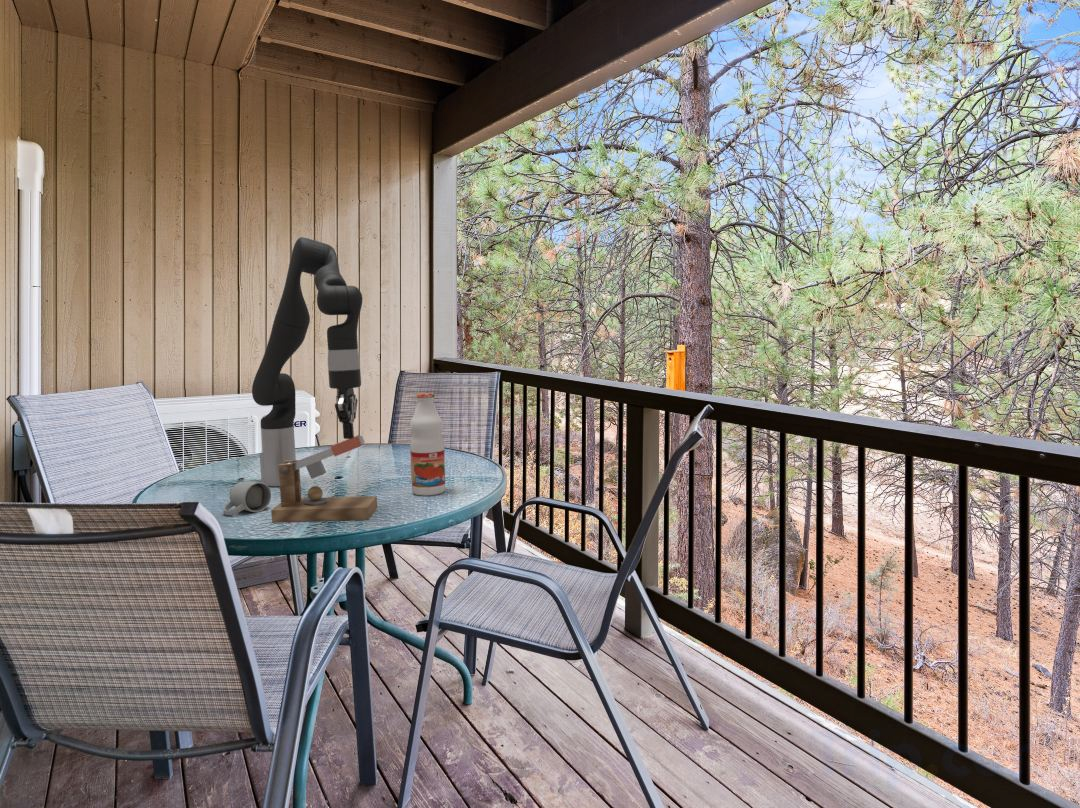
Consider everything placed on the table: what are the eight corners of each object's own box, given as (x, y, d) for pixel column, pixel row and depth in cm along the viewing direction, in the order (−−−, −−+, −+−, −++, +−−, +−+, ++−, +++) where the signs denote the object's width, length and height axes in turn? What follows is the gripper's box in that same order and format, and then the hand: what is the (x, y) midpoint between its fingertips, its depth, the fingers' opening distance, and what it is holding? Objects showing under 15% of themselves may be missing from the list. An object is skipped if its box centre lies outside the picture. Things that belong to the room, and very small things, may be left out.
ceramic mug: (253, 504, 177) (251, 476, 176) (272, 508, 173) (270, 479, 172) (216, 514, 169) (213, 485, 168) (235, 519, 164) (232, 488, 163)
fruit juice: (440, 486, 194) (437, 391, 190) (449, 493, 185) (446, 393, 182) (408, 490, 190) (404, 392, 187) (416, 497, 181) (412, 395, 178)
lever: (289, 488, 164) (279, 466, 163) (293, 485, 167) (283, 464, 166) (368, 456, 163) (358, 435, 163) (370, 454, 166) (361, 433, 166)
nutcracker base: (272, 522, 160) (268, 467, 159) (287, 509, 171) (284, 458, 170) (368, 519, 161) (365, 464, 160) (377, 507, 172) (374, 456, 171)
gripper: (353, 369, 156) (357, 442, 158) (365, 366, 169) (369, 433, 171) (320, 370, 156) (326, 443, 157) (335, 367, 169) (340, 434, 171)
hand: (348, 438), depth 164 cm, fingers closed
